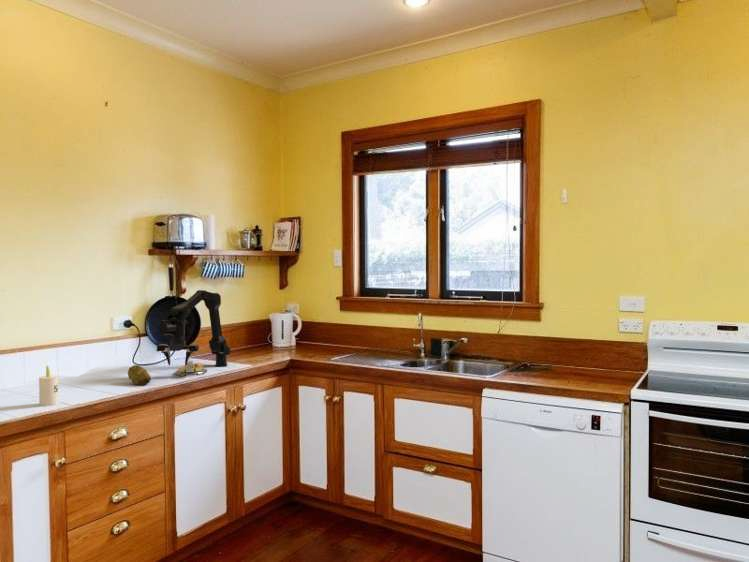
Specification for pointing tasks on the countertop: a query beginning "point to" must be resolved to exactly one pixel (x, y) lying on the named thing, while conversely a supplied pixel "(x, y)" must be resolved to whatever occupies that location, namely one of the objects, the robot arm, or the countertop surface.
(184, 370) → the tan curved piece
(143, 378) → the potato
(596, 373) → the countertop surface
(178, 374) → the round metal dish
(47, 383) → the candle
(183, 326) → the robot arm
